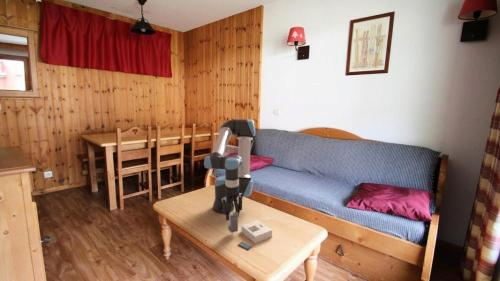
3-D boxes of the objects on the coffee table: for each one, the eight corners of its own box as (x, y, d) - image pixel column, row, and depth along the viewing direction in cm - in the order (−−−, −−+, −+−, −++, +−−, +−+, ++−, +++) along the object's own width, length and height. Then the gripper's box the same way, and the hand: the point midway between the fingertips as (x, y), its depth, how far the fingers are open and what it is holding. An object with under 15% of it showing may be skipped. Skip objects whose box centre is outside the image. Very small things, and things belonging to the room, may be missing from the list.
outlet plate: (241, 231, 145) (241, 225, 144) (257, 225, 151) (257, 219, 150) (255, 243, 133) (255, 236, 132) (271, 236, 140) (272, 229, 139)
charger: (228, 229, 142) (227, 213, 140) (234, 227, 144) (234, 211, 142) (231, 233, 138) (231, 216, 136) (237, 230, 141) (237, 214, 139)
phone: (237, 246, 131) (237, 244, 131) (241, 243, 134) (241, 241, 134) (248, 251, 127) (248, 249, 127) (252, 248, 130) (252, 246, 130)
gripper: (221, 191, 128) (222, 231, 133) (248, 184, 137) (248, 221, 142) (215, 186, 134) (216, 225, 139) (241, 180, 143) (241, 216, 148)
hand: (232, 223), depth 141 cm, fingers closed on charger, 4 cm apart
